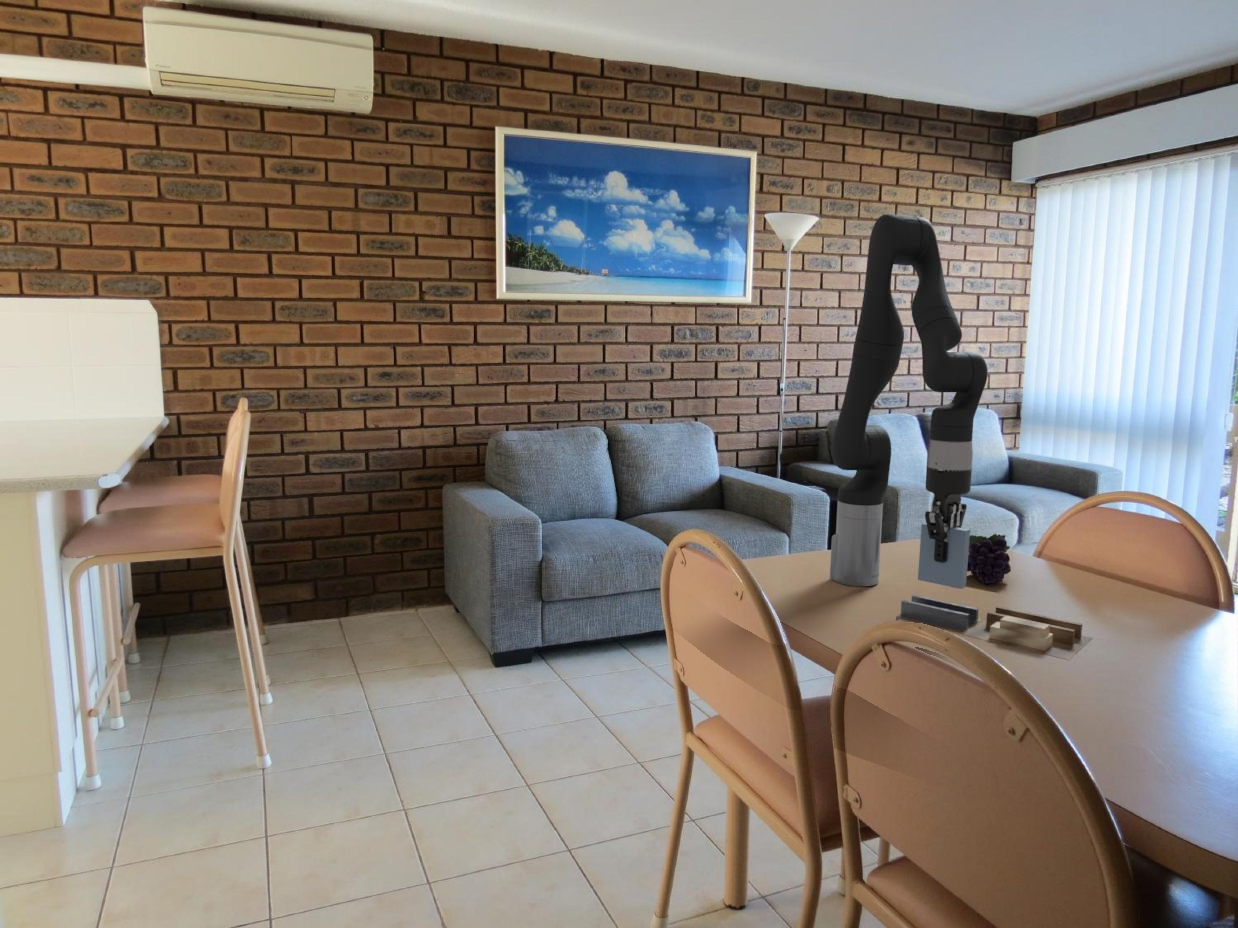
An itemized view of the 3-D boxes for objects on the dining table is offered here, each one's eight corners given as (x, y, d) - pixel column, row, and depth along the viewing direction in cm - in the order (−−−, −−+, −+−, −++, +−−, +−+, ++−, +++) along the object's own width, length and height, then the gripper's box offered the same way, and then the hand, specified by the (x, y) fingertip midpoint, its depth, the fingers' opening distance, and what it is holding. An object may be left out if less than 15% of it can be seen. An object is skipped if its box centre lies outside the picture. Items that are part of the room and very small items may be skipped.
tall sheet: (917, 579, 160) (921, 523, 158) (922, 577, 161) (926, 522, 160) (961, 588, 154) (966, 530, 153) (965, 586, 156) (970, 529, 154)
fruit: (973, 599, 184) (957, 564, 198) (1027, 594, 182) (1006, 559, 196) (971, 557, 180) (955, 524, 194) (1026, 551, 178) (1005, 519, 192)
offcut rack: (961, 639, 150) (962, 620, 150) (990, 621, 160) (992, 602, 160) (1068, 665, 139) (1070, 644, 138) (1092, 643, 149) (1094, 623, 149)
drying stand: (896, 621, 160) (897, 602, 159) (916, 610, 166) (918, 592, 166) (961, 637, 152) (963, 617, 151) (980, 624, 158) (982, 606, 158)
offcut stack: (989, 637, 149) (990, 617, 148) (996, 632, 151) (998, 613, 151) (1045, 650, 143) (1047, 630, 142) (1052, 645, 145) (1053, 624, 145)
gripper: (943, 459, 162) (937, 550, 165) (912, 467, 152) (906, 563, 155) (984, 463, 157) (978, 557, 160) (955, 471, 147) (948, 571, 150)
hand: (943, 560), depth 157 cm, fingers closed on tall sheet, 1 cm apart
